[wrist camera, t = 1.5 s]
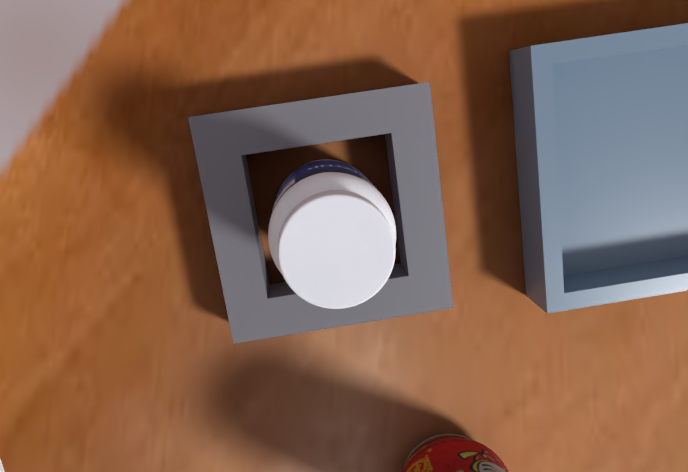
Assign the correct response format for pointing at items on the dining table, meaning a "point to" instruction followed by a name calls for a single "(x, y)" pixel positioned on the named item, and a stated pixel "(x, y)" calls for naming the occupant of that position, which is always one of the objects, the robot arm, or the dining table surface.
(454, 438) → the soda can
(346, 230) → the pill bottle
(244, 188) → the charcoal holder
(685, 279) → the parts tray
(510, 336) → the dining table surface
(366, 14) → the dining table surface
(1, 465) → the robot arm
